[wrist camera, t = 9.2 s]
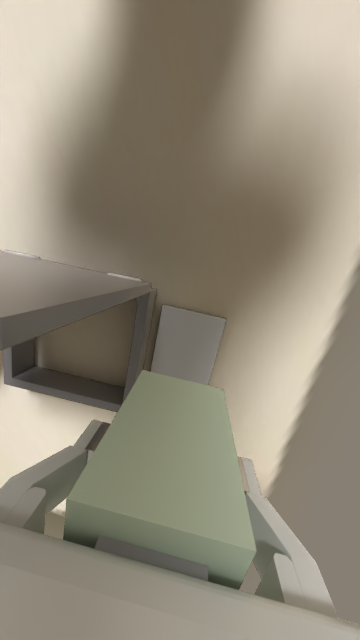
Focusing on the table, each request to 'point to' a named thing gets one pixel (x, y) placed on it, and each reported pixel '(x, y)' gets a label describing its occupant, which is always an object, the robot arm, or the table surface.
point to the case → (64, 322)
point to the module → (167, 485)
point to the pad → (187, 344)
